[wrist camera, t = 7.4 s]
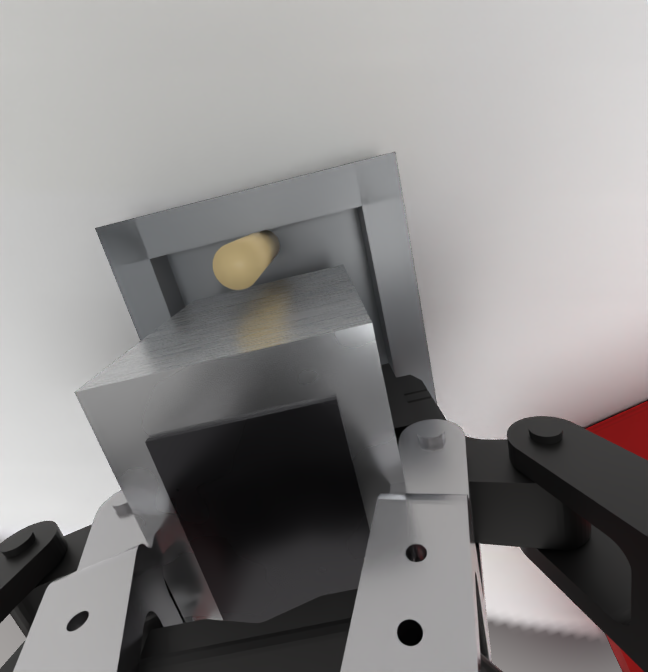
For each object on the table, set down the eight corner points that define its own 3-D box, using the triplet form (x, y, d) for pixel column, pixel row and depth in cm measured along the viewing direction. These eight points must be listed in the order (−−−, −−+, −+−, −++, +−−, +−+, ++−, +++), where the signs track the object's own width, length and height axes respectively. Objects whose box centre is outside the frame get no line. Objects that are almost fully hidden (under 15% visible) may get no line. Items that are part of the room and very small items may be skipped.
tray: (382, 160, 13) (431, 126, 8) (439, 486, 17) (498, 616, 12) (128, 224, 14) (2, 236, 8) (243, 527, 18) (210, 672, 12)
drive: (343, 264, 11) (373, 324, 6) (392, 489, 14) (449, 694, 8) (192, 300, 12) (70, 395, 6) (268, 515, 14) (235, 733, 8)
